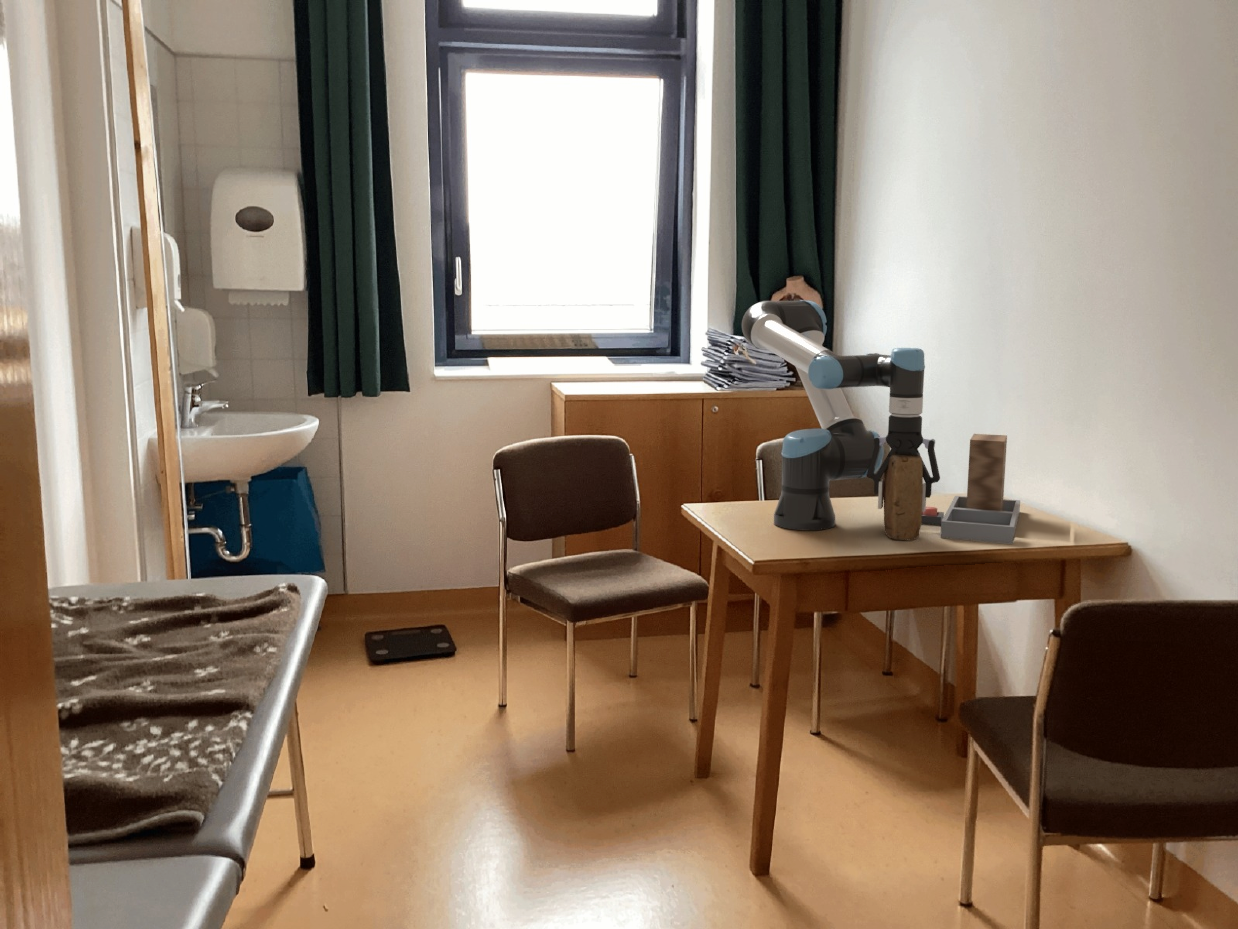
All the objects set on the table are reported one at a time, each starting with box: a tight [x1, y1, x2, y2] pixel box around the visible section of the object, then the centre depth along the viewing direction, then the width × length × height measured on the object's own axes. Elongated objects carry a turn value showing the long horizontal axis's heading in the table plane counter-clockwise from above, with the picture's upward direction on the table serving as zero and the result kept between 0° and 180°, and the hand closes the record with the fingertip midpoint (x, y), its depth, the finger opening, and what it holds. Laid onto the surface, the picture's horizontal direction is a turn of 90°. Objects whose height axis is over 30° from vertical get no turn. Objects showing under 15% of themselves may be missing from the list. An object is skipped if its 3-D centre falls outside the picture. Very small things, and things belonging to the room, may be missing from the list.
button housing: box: [921, 511, 945, 526], centre depth 259 cm, size 6×6×3 cm
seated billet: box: [966, 433, 1008, 511], centre depth 264 cm, size 8×11×20 cm
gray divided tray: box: [940, 495, 1021, 545], centre depth 258 cm, size 16×32×4 cm, turn 157°
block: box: [883, 454, 924, 541], centre depth 247 cm, size 11×8×20 cm
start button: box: [923, 506, 938, 516], centre depth 259 cm, size 3×3×4 cm
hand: (901, 509), depth 247 cm, fingers closed on block, 9 cm apart
